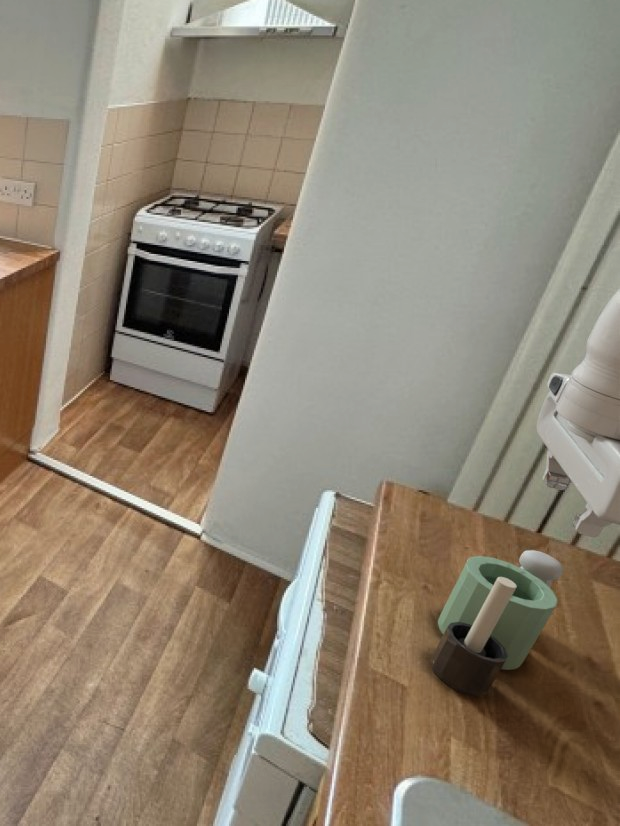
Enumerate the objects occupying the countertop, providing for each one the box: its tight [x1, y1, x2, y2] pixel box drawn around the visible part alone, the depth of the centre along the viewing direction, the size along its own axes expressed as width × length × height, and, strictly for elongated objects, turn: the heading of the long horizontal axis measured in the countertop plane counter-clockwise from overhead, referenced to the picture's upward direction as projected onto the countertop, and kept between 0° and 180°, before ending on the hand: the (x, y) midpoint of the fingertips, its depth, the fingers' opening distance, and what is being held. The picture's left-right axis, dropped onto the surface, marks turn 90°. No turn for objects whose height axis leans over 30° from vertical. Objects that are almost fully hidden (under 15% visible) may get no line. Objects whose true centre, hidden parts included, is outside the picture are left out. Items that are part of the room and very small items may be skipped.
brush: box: [458, 577, 517, 657], centre depth 81 cm, size 3×3×17 cm
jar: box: [437, 555, 559, 671], centre depth 88 cm, size 9×9×12 cm
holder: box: [430, 622, 508, 698], centre depth 83 cm, size 6×6×7 cm
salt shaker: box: [518, 549, 564, 589], centre depth 91 cm, size 6×6×13 cm
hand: (567, 507), depth 73 cm, fingers open, 8 cm apart
